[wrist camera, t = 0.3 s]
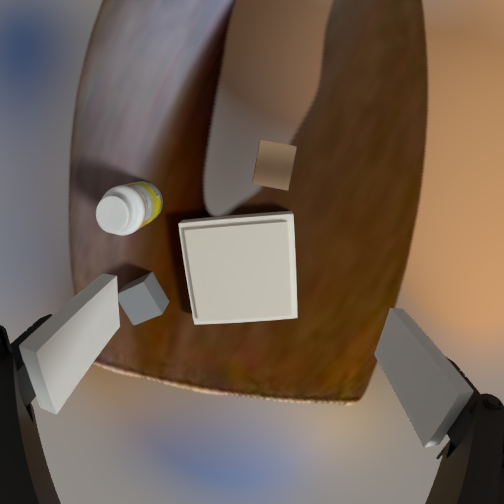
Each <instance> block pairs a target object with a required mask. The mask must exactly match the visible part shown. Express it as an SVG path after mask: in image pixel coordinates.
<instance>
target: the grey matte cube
mask: <svg viewBox="0 0 504 504" xmlns="http://www.w3.org/2000/svg"><path fill="white" fill-rule="evenodd" d="M118 301H119V303H120V304H121V306H122V308H123V309H124V311H125V312H126V314H127V316H128V317H129V319H130V320H131V322H132V324H133V325H136V324H139V323H141V322H144V321H146V320H149V319H151V318H154V317H156V316H159V315H161V314H163V312H164V310H165V308H166V307H167V305H168V303H169V300H168V299H167V297H166V295H165V293H164V292H163V290H162V288H161V286H160V285H159V283H158V281H157V279H156V278H155V276H154V274H153V272H151V273H149V274H146V275H144V276H142V277H140V278H138V279H136V280H134V281H132V282H130V283H128V284H126V285H125V286H124V287H123V288H122V289H121V290H120V291H119V292H118Z"/></svg>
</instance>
